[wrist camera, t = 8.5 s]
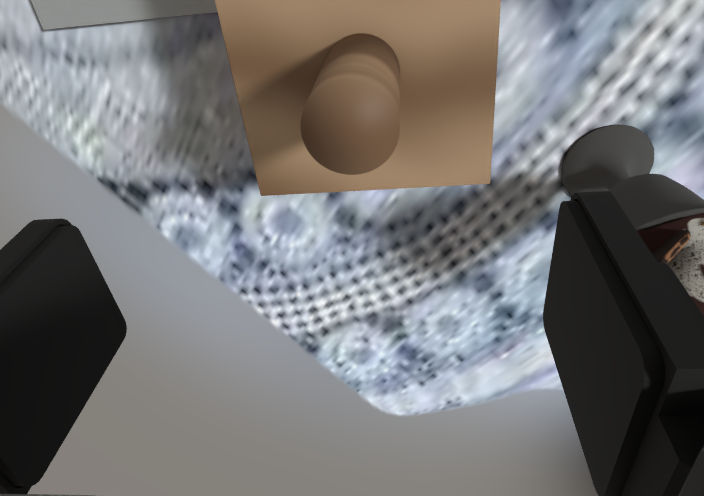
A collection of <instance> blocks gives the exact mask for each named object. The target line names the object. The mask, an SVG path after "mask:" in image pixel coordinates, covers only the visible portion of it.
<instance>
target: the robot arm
mask: <svg viewBox="0 0 704 496" xmlns="http://www.w3.org/2000/svg"><path fill="white" fill-rule="evenodd" d="M543 322H544V329H545V332H546V336H547V339H548V342H549V345H550V348H551V351H552V354H553V358H554V361H555V364H556V367H557V370H558V373H559V377H560V380H561V383H562V386H563V389H564V392H565V395H566V399H567V402H568V405H569V408H570V411H571V414H572V417H573V420H574V424H575V427H576V430H577V433H578V436H579V439H580V443H581V446H582V449H583V452H584V455H585V458H586V461H587V464H588V468H589V471H590V473H591V477H592V480H593V484H594V487H595V489H596V491H597V493H598V495H599V496H704V315H703V314H702V312H701V311H700V310H699V308H698V307H697V305H696V304H695V302H694V301H693V299H692V298H691V296H690V295H689V294H688V292H687V291H686V289H685V288H684V286H683V285H682V283H681V282H680V280H679V279H678V278H677V276H676V275H675V273H674V272H673V270H672V269H671V268H670V267H669V266H668V265H667V264H665V263H662V262H657V261H656V259H655V258H654V256H653V255H652V253H651V252H650V250H649V249H648V247H647V246H646V244H645V243H644V241H643V240H642V238H641V237H640V235H639V234H638V232H637V231H636V229H635V228H634V226H633V224H632V223H631V221H630V220H629V218H628V217H627V215H626V214H625V212H624V211H623V209H622V208H621V206H620V205H619V203H618V202H617V200H616V199H615V197H614V196H613V194H612V193H611V192H610V191H597V192H577V193H574V194H573V195H572V198H571V201H563V202H562V203H561V205H560V209H559V215H558V221H557V228H556V234H555V240H554V247H553V253H552V260H551V266H550V272H549V279H548V285H547V291H546V298H545V304H544V311H543ZM126 329H127V328H126V322H125V319H124V317H123V315H122V313H121V311H120V309H119V307H118V305H117V303H116V302H115V300H114V298H113V296H112V294H111V292H110V290H109V288H108V286H107V284H106V282H105V280H104V278H103V276H102V274H101V272H100V270H99V268H98V266H97V264H96V262H95V260H94V258H93V256H92V254H91V252H90V250H89V248H88V246H87V244H86V242H85V240H84V238H83V236H82V234H81V232H80V231H79V229H78V228H77V227H75V226H73V225H71V223H70V222H68V221H67V220H65V219H44V220H33V221H32V222H30V223H29V224H27V225H26V226H25V227H24V228H23V229H22V230H21V231H20V232H19V233H18V234H17V235H16V236H15V237H14V238H13V239H11V240H10V241H9V242H8V243H7V244H6V245H5V246H4V247H3V248H2V249H1V250H0V496H93V495H37V494H27V493H28V491H29V490H30V488H31V486H33V485H35V484H36V483H37V482H39V481H40V479H41V478H42V477H43V475H44V473H45V472H46V470H47V468H48V466H49V465H50V463H51V461H52V460H53V458H54V456H55V455H56V453H57V451H58V449H59V448H60V446H61V444H62V443H63V441H64V439H65V438H66V436H67V434H68V433H69V431H70V429H71V428H72V426H73V424H74V423H75V421H76V419H77V418H78V416H79V414H80V413H81V411H82V409H83V408H84V406H85V404H86V402H87V401H88V399H89V397H90V396H91V394H92V392H93V391H94V389H95V387H96V385H97V384H98V382H99V381H100V379H101V377H102V375H103V374H104V372H105V370H106V369H107V367H108V365H109V364H110V362H111V360H112V359H113V357H114V355H115V354H116V352H117V350H118V348H119V347H120V345H121V343H122V342H123V340H124V338H125V336H126Z"/></svg>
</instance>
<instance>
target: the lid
mask: <svg viewBox="0 0 704 496" xmlns="http://www.w3.org/2000/svg"><path fill="white" fill-rule="evenodd" d="M215 3H216V7H217V11H218V16H219V20H220V24H221V28H222V33H223V37H224V41H225V45H226V50H227V54H228V58H229V62H230V67H231V71H232V75H233V79H234V84H235V88H236V92H237V96H238V101H239V105H240V109H241V113H242V117H243V122H244V126H245V130H246V134H247V139H248V143H249V147H250V151H251V156H252V160H253V164H254V168H255V173H256V177H257V181H258V185H259V190H260V194H261V196H266V195H285V194H304V193H322V192H341V191H360V190H379V189H397V188H416V187H435V186H454V185H472V184H490V175H491V158H492V141H493V124H494V107H495V90H496V72H497V55H498V38H499V21H500V4H501V0H215Z"/></svg>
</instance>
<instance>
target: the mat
mask: <svg viewBox="0 0 704 496" xmlns="http://www.w3.org/2000/svg"><path fill="white" fill-rule="evenodd" d="M31 2H32V4H33V7H34V9H35V11H36V14H37V16H38V18H39V21H40V23H41V25H42V28H43V30H46V29H55V28H65V27H75V26H85V25H95V24H105V23H115V22H125V21H135V20H145V19H155V18H165V17H175V16H185V15H195V14H205V13H215V12H218V11H217V7H216V3H215V0H31Z"/></svg>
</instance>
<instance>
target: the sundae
mask: <svg viewBox="0 0 704 496" xmlns="http://www.w3.org/2000/svg"><path fill="white" fill-rule="evenodd" d="M653 162H654V148H653V145H652V143H651V141H650V139H649V138H648V136H647V135H646V134H644V133H643V132H642V131H640V130H639V129H637V128H635V127H632V126H626V125H611V126H606V127H602V128H599V129H596V130H594V131H592V132H590V133H588V134H587V135H585V136H584V137H582V138H581V139H579V140H578V141H577V142H576V143H575V144H574V145H573V147H572V148H571V149H570V150H569V152H568V153H567V155H566V157H565V160H564V162H563V166H562V182H563V184H564V186H565V188H566V190H567V191H568V192H569V194H570V195H573V194H574V193H577V192H597V191H610V192H611V193H612V194H613V196H614V197H615V199H616V200H617V202H618V203H619V205H620V206H621V208H622V209H623V211H624V212H625V214H626V215H627V217H628V218H629V220H630V221H631V223H632V224H633V226H634V228H635V229H636V231H637V232H638V234H639V235H640V237H641V238H642V240H643V241H644V243H645V244H646V246H647V247H648V249H649V250H650V252H651V253H652V255H653V256H654V258H655V259H656V261H657V262H662V263H665V264H667V265H668V266H669V267H670V268H671V269H672V270H673V272H674V273H675V275H676V276H677V278H678V279H679V280H680V282H681V283H682V285H683V286H684V288H685V289H686V291H687V292H688V294H689V295H690V296H691V298H692V299H693V301H694V302H695V304H696V305H697V307H698V308H699V310H700V311H701V312H702V314H703V315H704V200H703V199H702V198H700V197H699V196H698V195H696V194H695V193H694V192H692V191H691V190H689V189H688V188H686V187H684V186H683V185H681V184H679V183H677V182H675V181H674V180H672V179H670V178H668V177H666V176H664V175H660V174H649V173H650V171H651V168H652V166H653Z"/></svg>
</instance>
